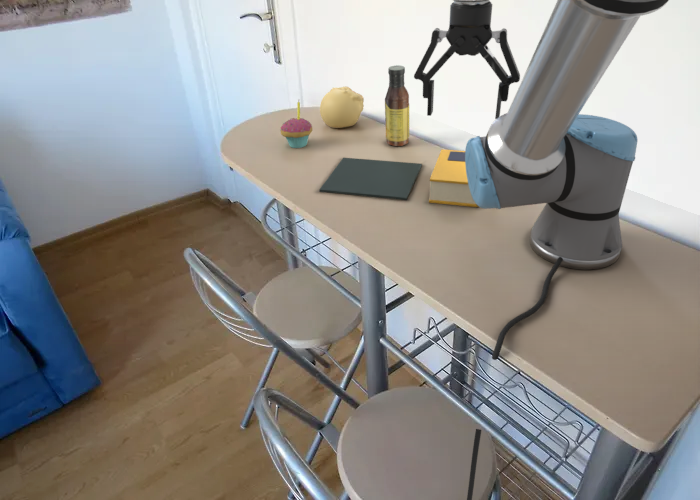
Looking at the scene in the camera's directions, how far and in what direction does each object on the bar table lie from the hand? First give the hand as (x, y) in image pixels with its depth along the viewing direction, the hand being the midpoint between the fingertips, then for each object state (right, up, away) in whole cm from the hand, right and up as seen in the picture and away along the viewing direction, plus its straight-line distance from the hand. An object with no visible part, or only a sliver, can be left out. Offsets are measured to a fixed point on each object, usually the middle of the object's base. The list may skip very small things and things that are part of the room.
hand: (463, 115), depth 107 cm
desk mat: (-18, -11, +15) cm, 26 cm away
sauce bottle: (-11, +1, +33) cm, 34 cm away
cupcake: (-37, +1, +35) cm, 51 cm away
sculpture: (-25, +9, +46) cm, 54 cm away
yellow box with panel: (+1, -14, +9) cm, 17 cm away
